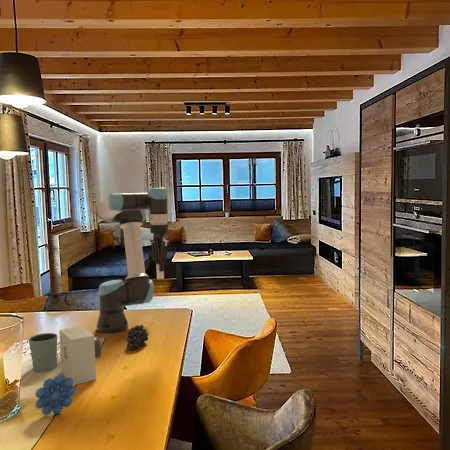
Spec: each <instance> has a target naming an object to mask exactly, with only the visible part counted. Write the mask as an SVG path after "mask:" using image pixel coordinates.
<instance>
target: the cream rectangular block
mask: <svg viewBox="0 0 450 450" xmlns="http://www.w3.org/2000/svg"><path fill="white" fill-rule="evenodd" d="M94 337H95V335H94V334H93V333H91V332H90V331H89V330H87V329H86V328H85V327H83V326H82V325H79V326H74V327H67V328H62V329H59V346H60V347H59V348H60V368H61V370H60V371H61V374H62V375H63V376H64V378H65V377H66V378H69V377H70V378H72V379H73V384H72V386H76V385H80V384H83V383H88V382H92V381H96V380H97V374H96V373H97V371H96V368H97V367H96V359H95V343H94ZM66 349H68V358H67V355H66ZM66 378H65V379H66Z"/></svg>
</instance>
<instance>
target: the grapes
mask: <svg viewBox="0 0 450 450" xmlns="http://www.w3.org/2000/svg"><path fill="white" fill-rule="evenodd" d="M76 392H77V388H76V387H75V385H73V379H72V378H70V377H69V378H65V375H64V374H63V373H61V374H57V375H56V376H55V377H54V379H53V378H51V377H49V378H46V379H45V380H44V382H43V386H42V387H39V388H38V389H37V390H36V392H35V396H36V397H37V400H36V401H35V407H36V409H40V410H41V411H42V412H41V413H42V414H43V415H45V416H47V415H50V414H51V413H53V414H54V415H59V414H60V413H62V411H63V409H64V408H68V407H70V406H72V403H73V398H72V397H73V396H75V395H76Z"/></svg>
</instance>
